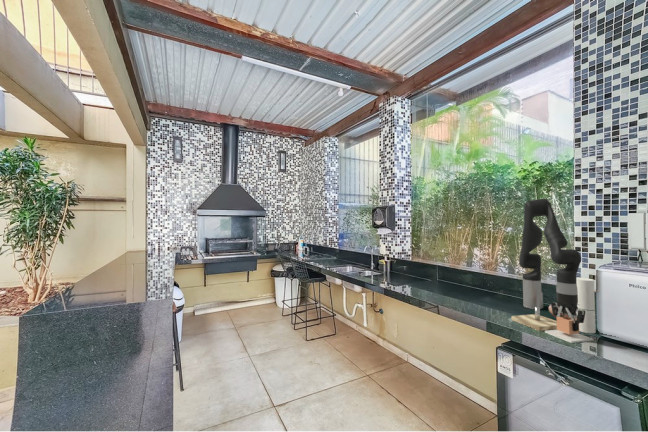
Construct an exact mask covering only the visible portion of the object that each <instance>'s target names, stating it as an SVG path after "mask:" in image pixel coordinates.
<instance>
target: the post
mask: <svg viewBox="0 0 648 432" xmlns="http://www.w3.org/2000/svg"><path fill="white" fill-rule="evenodd" d="M534 314H535V320H537V321H540V316H541V309H540V308H539V307H535V309H534Z"/></svg>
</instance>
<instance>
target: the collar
mask: <svg viewBox="0 0 648 432" xmlns="http://www.w3.org/2000/svg"><path fill="white" fill-rule="evenodd" d="M556 321H557V329H556V330H559V331H562V332H564V333H567V334H580V331H579V330H578V331H575V332H574V331H573V330H572V323H573V322H572V320H571V318H570V317H569V316H568V317H567V316H562V317H557V318H556Z"/></svg>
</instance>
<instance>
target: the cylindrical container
mask: <svg viewBox="0 0 648 432" xmlns="http://www.w3.org/2000/svg"><path fill="white" fill-rule="evenodd" d="M576 280H577V289H578V304H577V307H578V309H580V310H585V318H584V323H579V332H581V333H584V334H585V333H586V334H596V328H597V327H596V310H595V309H596V305H595V304H596V303H595V301H596V299H595V279H592V278H586V277H576ZM576 313H577V312H576ZM577 315H578V314H577Z"/></svg>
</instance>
